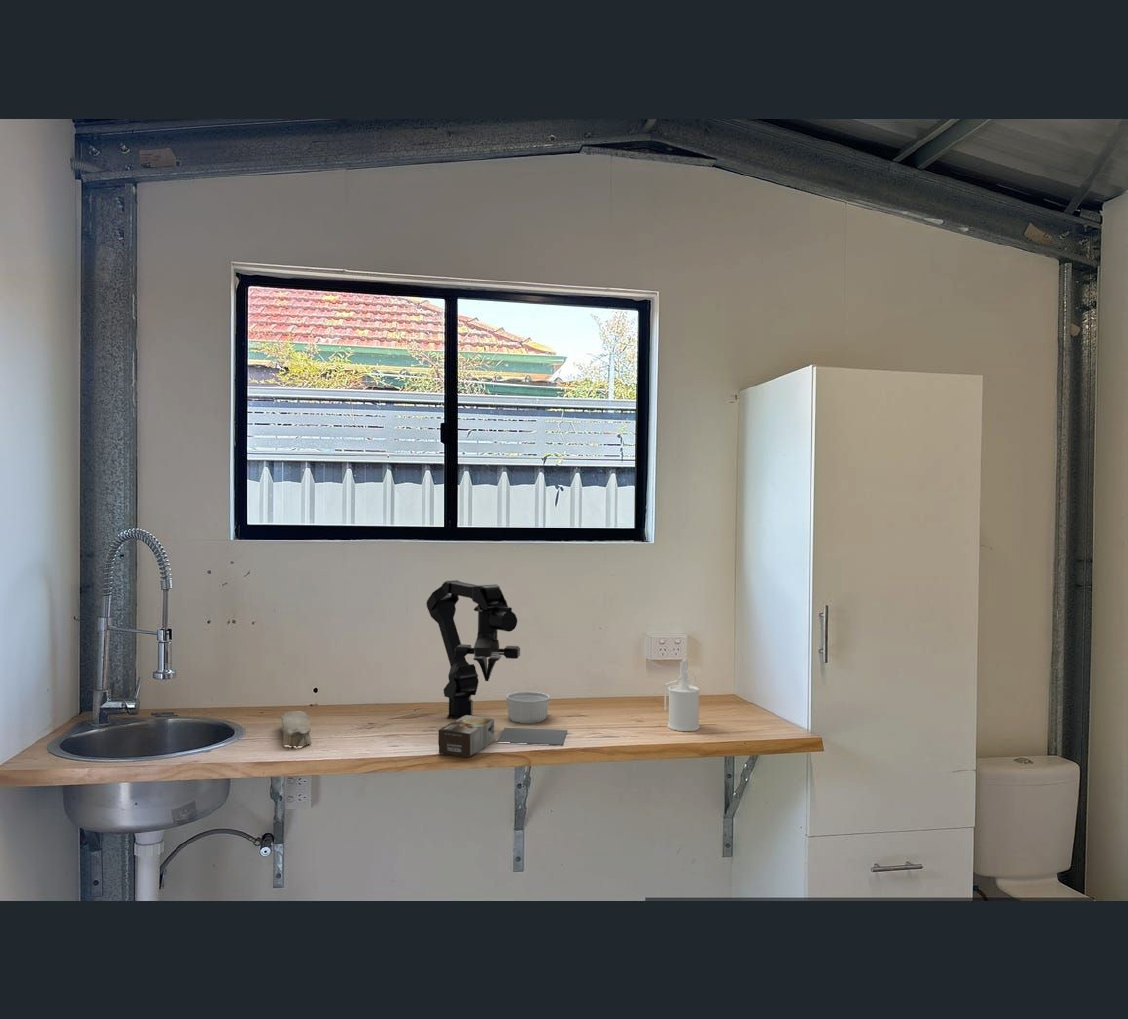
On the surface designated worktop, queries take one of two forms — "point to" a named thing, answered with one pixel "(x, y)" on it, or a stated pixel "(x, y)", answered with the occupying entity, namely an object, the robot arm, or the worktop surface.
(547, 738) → the mat
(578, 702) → the worktop surface
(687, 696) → the oil can
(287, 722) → the shoe brush
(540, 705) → the ramekin
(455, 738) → the coffee box
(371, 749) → the worktop surface
